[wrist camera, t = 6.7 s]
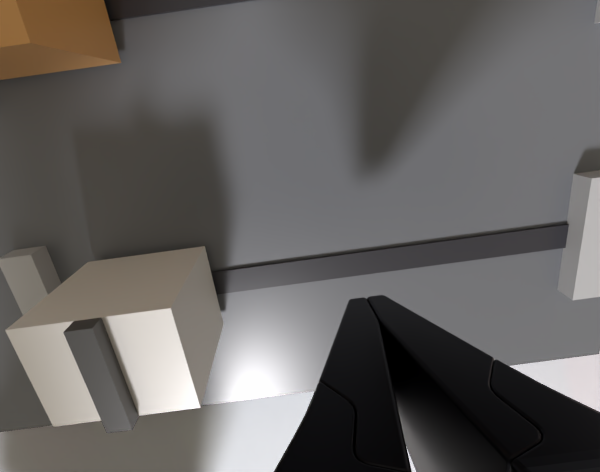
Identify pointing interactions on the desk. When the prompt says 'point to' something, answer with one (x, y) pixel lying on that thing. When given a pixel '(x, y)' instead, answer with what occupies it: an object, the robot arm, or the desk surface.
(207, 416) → the desk surface
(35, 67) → the block
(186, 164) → the console
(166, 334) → the white fader
